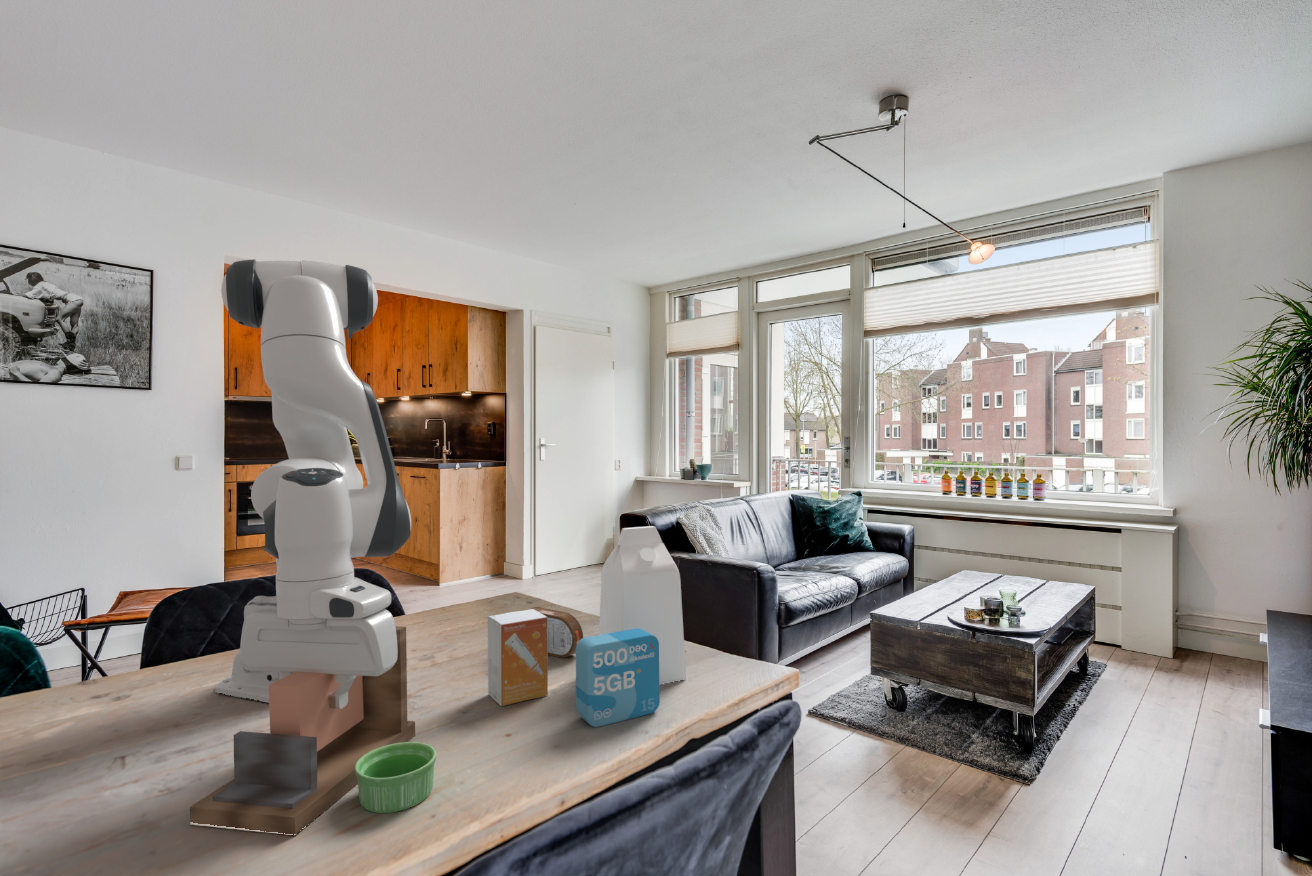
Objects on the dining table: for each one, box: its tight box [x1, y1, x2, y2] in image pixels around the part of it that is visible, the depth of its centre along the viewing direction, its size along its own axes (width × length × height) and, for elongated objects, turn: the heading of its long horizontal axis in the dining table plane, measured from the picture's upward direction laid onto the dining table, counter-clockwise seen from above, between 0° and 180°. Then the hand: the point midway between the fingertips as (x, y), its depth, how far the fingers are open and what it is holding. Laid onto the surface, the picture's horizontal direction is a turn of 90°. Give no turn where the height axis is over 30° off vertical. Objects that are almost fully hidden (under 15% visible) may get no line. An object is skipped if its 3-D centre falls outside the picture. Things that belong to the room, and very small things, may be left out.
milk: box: [598, 525, 687, 685], centre depth 117 cm, size 12×12×26 cm
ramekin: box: [355, 741, 437, 814], centre depth 79 cm, size 9×9×4 cm
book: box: [268, 672, 364, 751], centre depth 84 cm, size 4×12×9 cm, turn 170°
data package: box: [575, 628, 661, 728], centre depth 100 cm, size 12×4×12 cm, turn 120°
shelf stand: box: [189, 625, 416, 835], centre depth 83 cm, size 13×24×16 cm, turn 170°
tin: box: [530, 606, 584, 659], centre depth 129 cm, size 15×3×8 cm, turn 58°
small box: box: [487, 608, 549, 707], centre depth 108 cm, size 8×6×13 cm
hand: (319, 706), depth 84 cm, fingers closed on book, 4 cm apart
